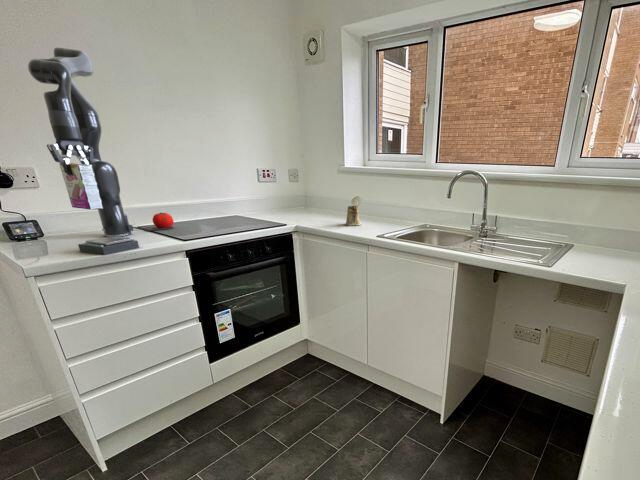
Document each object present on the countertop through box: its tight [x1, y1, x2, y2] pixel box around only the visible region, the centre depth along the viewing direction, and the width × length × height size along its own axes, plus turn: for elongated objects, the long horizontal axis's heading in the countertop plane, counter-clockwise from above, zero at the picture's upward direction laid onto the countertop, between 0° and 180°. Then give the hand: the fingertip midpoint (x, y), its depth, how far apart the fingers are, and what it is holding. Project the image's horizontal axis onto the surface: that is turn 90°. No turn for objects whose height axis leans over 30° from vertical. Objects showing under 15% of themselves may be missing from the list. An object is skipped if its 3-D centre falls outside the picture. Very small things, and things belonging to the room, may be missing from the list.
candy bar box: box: [58, 162, 103, 211], centre depth 134 cm, size 11×5×16 cm, turn 70°
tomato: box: [152, 212, 175, 229], centre depth 186 cm, size 9×10×8 cm
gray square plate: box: [85, 236, 135, 245], centre depth 142 cm, size 11×11×1 cm
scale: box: [77, 239, 140, 256], centre depth 142 cm, size 14×13×3 cm
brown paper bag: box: [345, 196, 362, 227], centre depth 213 cm, size 9×14×18 cm, turn 27°
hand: (78, 174), depth 133 cm, fingers closed on candy bar box, 5 cm apart
